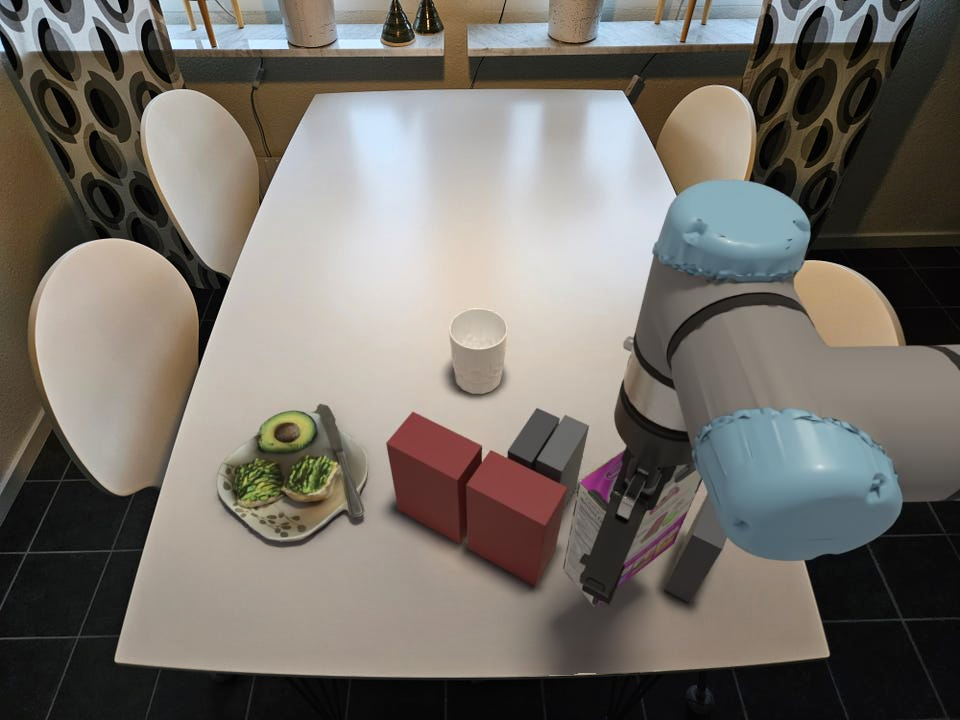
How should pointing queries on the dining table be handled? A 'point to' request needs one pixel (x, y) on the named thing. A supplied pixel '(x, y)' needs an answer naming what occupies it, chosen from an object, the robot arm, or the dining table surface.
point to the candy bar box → (654, 528)
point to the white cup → (478, 349)
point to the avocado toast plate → (294, 475)
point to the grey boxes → (560, 460)
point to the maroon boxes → (476, 496)
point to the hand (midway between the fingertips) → (623, 538)
